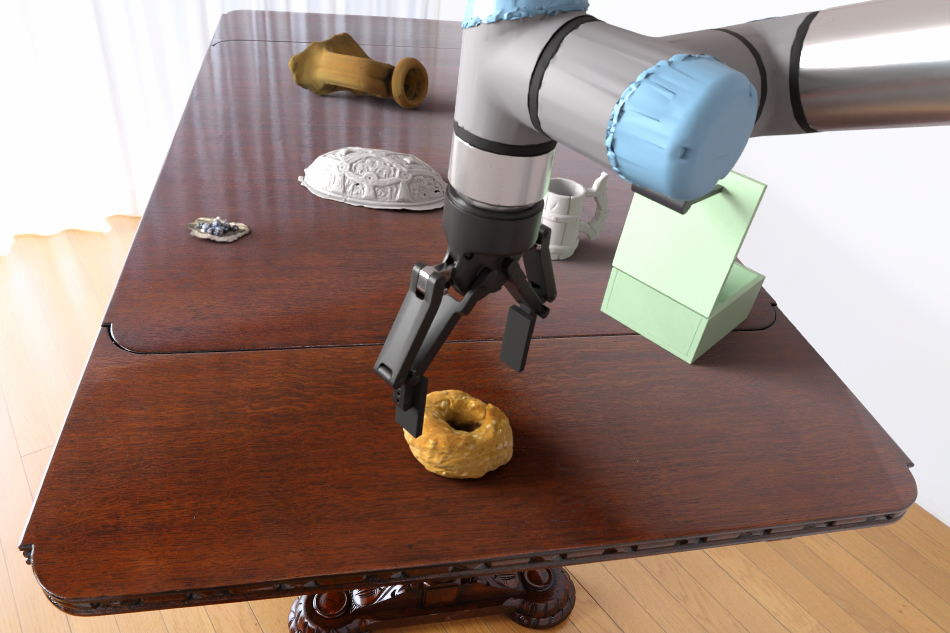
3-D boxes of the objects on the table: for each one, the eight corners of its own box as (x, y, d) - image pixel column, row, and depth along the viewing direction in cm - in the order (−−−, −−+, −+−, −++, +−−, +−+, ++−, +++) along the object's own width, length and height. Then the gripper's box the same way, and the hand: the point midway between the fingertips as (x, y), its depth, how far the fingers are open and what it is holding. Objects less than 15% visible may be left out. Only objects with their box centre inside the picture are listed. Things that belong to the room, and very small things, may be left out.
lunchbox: (662, 272, 99) (675, 231, 95) (747, 317, 92) (766, 276, 88) (600, 310, 89) (612, 267, 85) (690, 364, 82) (708, 320, 78)
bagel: (503, 498, 63) (510, 463, 60) (388, 470, 64) (391, 435, 61) (518, 423, 71) (526, 390, 68) (417, 400, 72) (420, 366, 69)
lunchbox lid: (655, 137, 76) (606, 151, 70) (768, 184, 69) (725, 205, 63) (615, 263, 85) (568, 285, 79) (711, 316, 78) (669, 345, 72)
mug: (517, 235, 103) (531, 161, 95) (588, 232, 106) (606, 160, 99) (535, 262, 97) (551, 186, 90) (609, 258, 100) (630, 184, 93)
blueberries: (187, 221, 95) (185, 209, 93) (247, 217, 97) (246, 205, 96) (189, 246, 90) (187, 234, 89) (252, 241, 93) (251, 229, 91)
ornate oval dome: (447, 217, 103) (449, 174, 100) (285, 199, 104) (283, 156, 101) (459, 183, 116) (462, 144, 113) (316, 167, 117) (314, 129, 114)
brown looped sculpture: (354, 38, 148) (436, 46, 138) (348, 99, 152) (427, 112, 142) (291, 20, 133) (376, 29, 123) (286, 89, 137) (369, 103, 126)
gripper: (560, 137, 60) (520, 324, 73) (327, 212, 45) (328, 433, 58) (629, 170, 57) (575, 361, 69) (402, 264, 41) (385, 488, 54)
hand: (463, 394), depth 63 cm, fingers open, 13 cm apart
